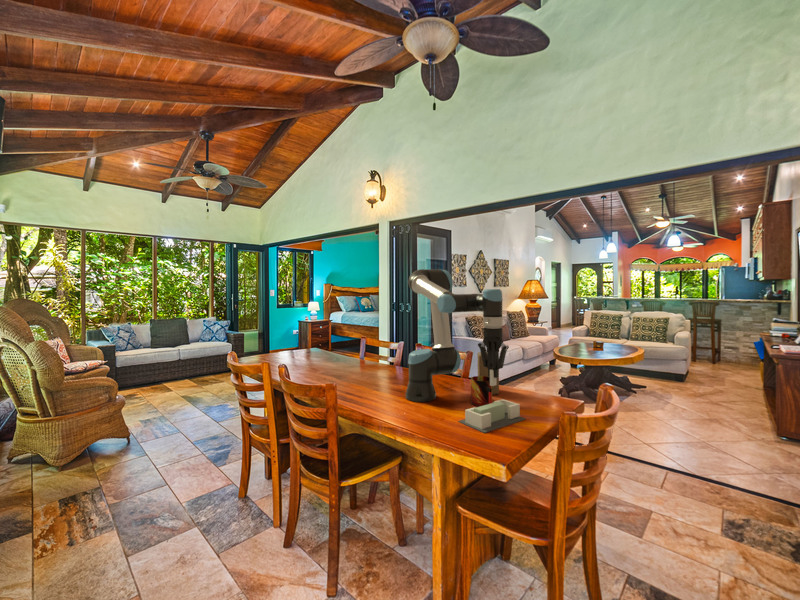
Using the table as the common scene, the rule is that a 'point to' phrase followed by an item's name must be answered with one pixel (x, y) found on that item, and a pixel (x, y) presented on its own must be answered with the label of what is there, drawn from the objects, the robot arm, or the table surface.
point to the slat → (492, 410)
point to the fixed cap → (477, 418)
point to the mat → (495, 423)
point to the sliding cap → (511, 408)
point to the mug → (481, 391)
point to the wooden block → (486, 373)
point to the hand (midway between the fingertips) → (493, 385)
